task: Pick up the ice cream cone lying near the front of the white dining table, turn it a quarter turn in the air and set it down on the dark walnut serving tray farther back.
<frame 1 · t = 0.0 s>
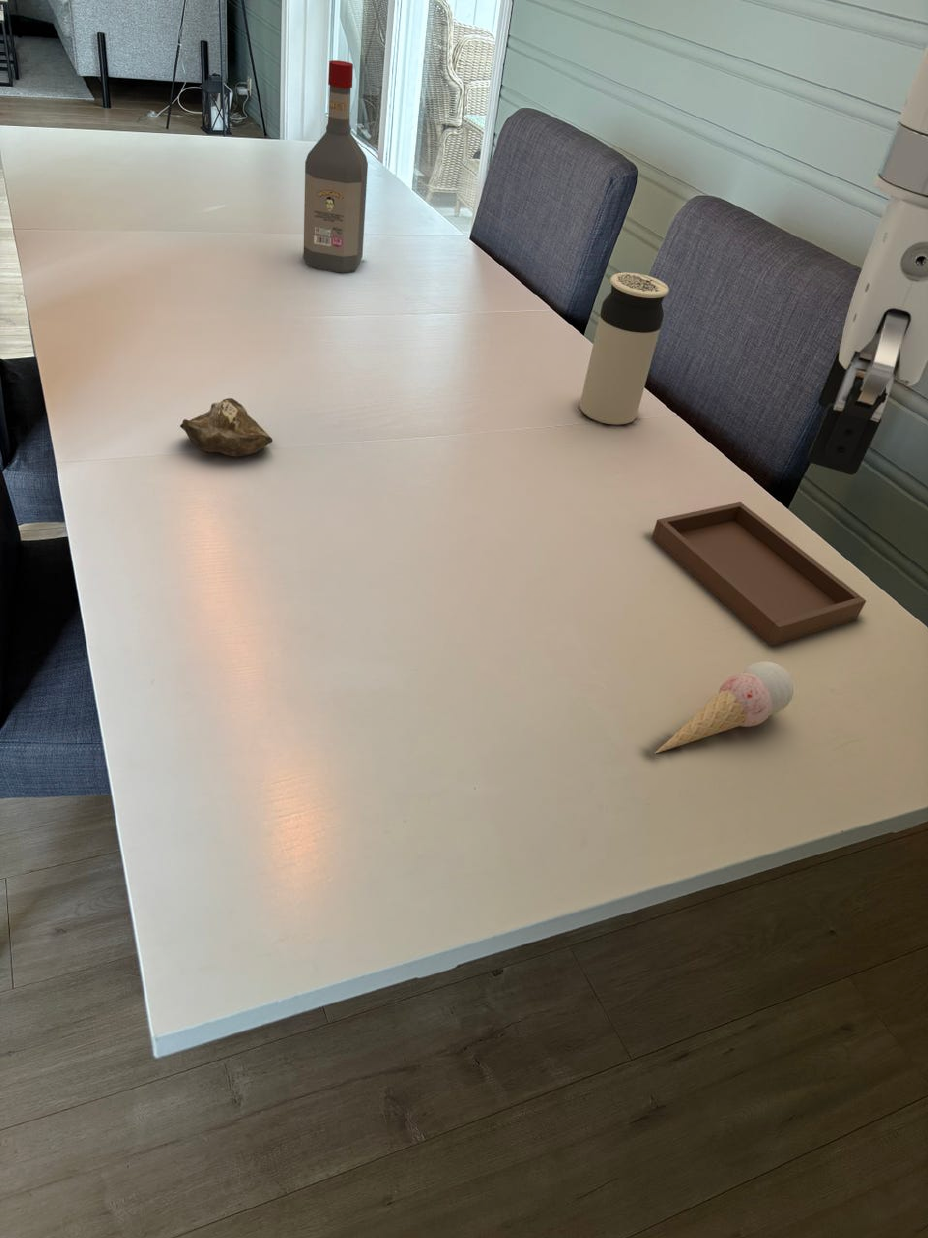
hand: (835, 436, 63), 28 cm above the table, tool pointing down, fingers open, 9 cm apart
liquor: (333, 263, 157), on the table
ice cream cone: (722, 732, 80), on the table
tray: (750, 576, 99), on the table
travel mug: (606, 413, 126), on the table
fossilized seashell: (228, 450, 106), on the table
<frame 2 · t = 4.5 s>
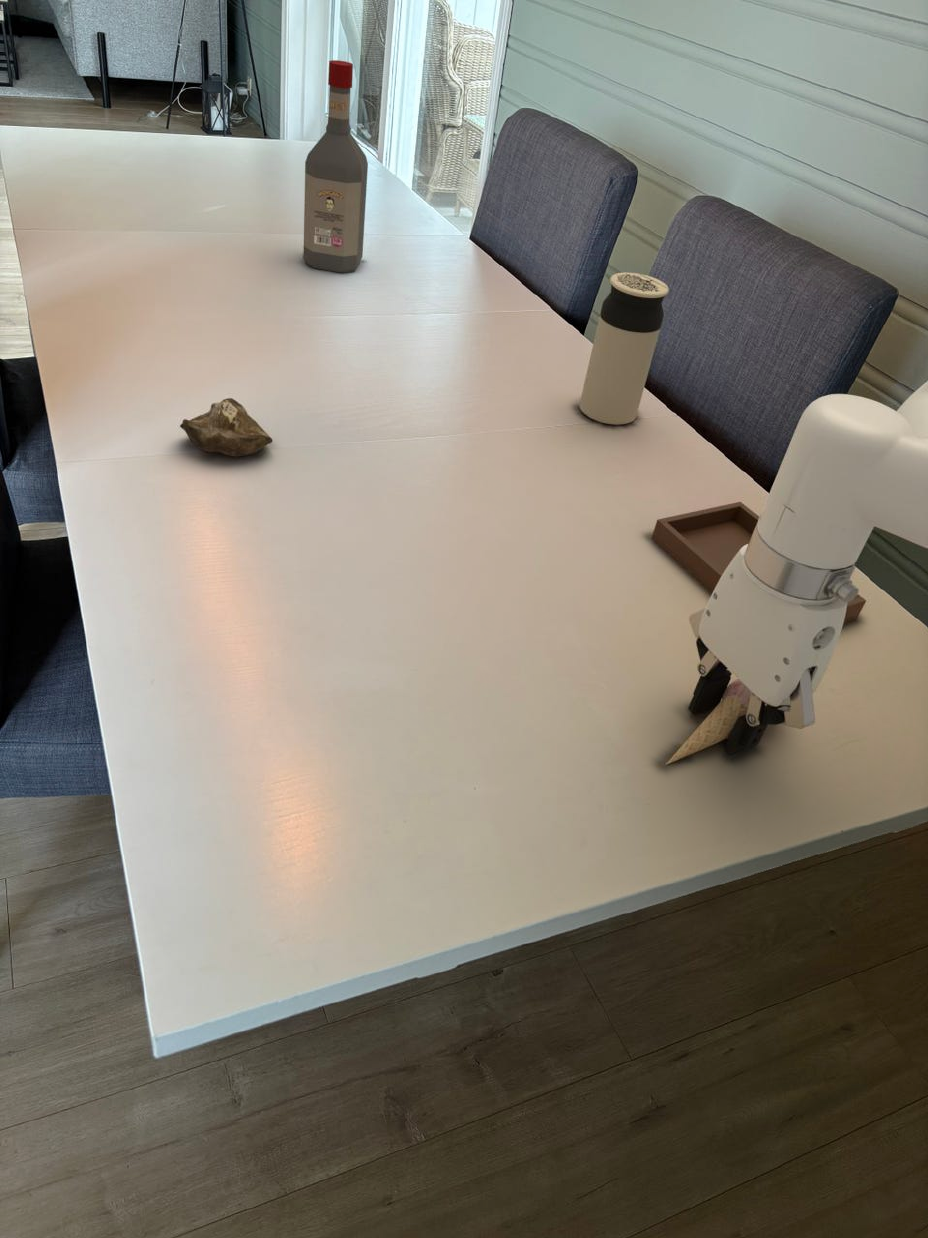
hand: (721, 725, 80), 1 cm above the table, tool pointing down, fingers closed on ice cream cone, 4 cm apart
ice cream cone: (728, 737, 80), on the table, touching gripper
everything else where it was.
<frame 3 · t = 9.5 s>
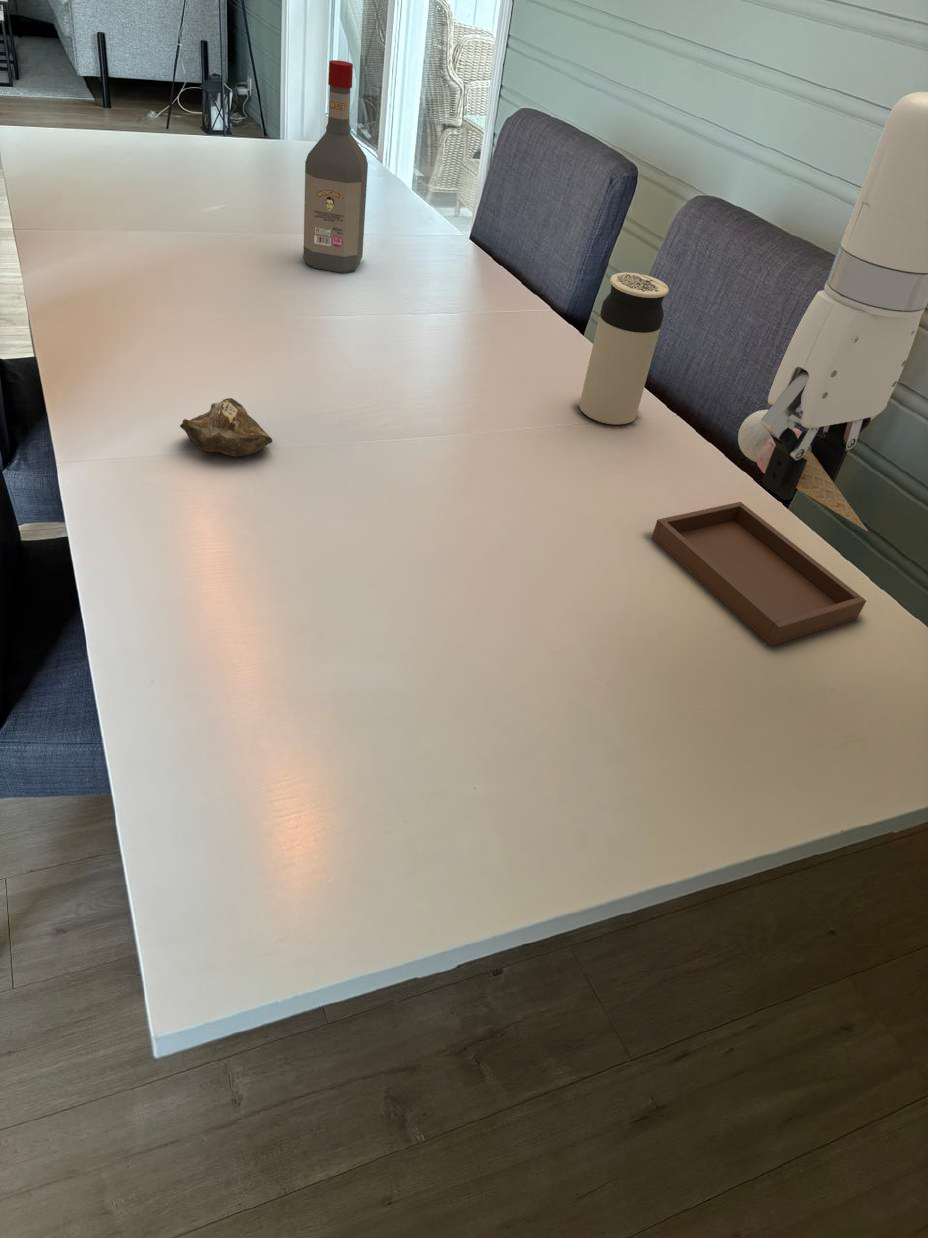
hand: (796, 485, 81), 17 cm above the table, tool pointing down, fingers closed on ice cream cone, 4 cm apart
ice cream cone: (798, 488, 82), point 16 cm above the table, touching gripper
everything else where it was.
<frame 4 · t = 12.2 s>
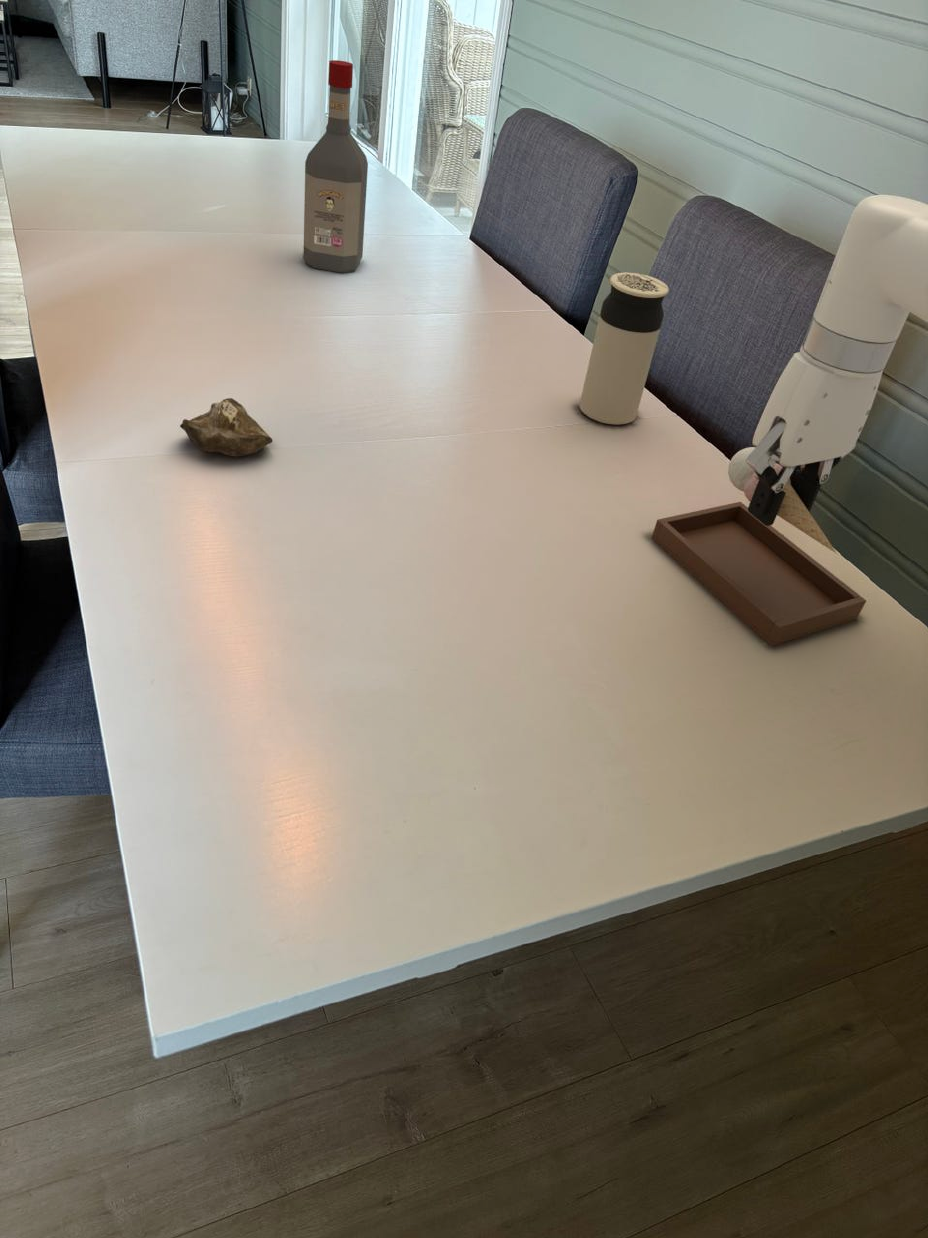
hand: (777, 512, 94), 8 cm above the table, tool pointing down, fingers closed on ice cream cone, 4 cm apart
ice cream cone: (779, 515, 95), point 8 cm above the table, touching gripper
everything else where it was.
when the fingers open (1 cm above the table, at t = 14.3 s): ice cream cone stays where it is, resting on tray.
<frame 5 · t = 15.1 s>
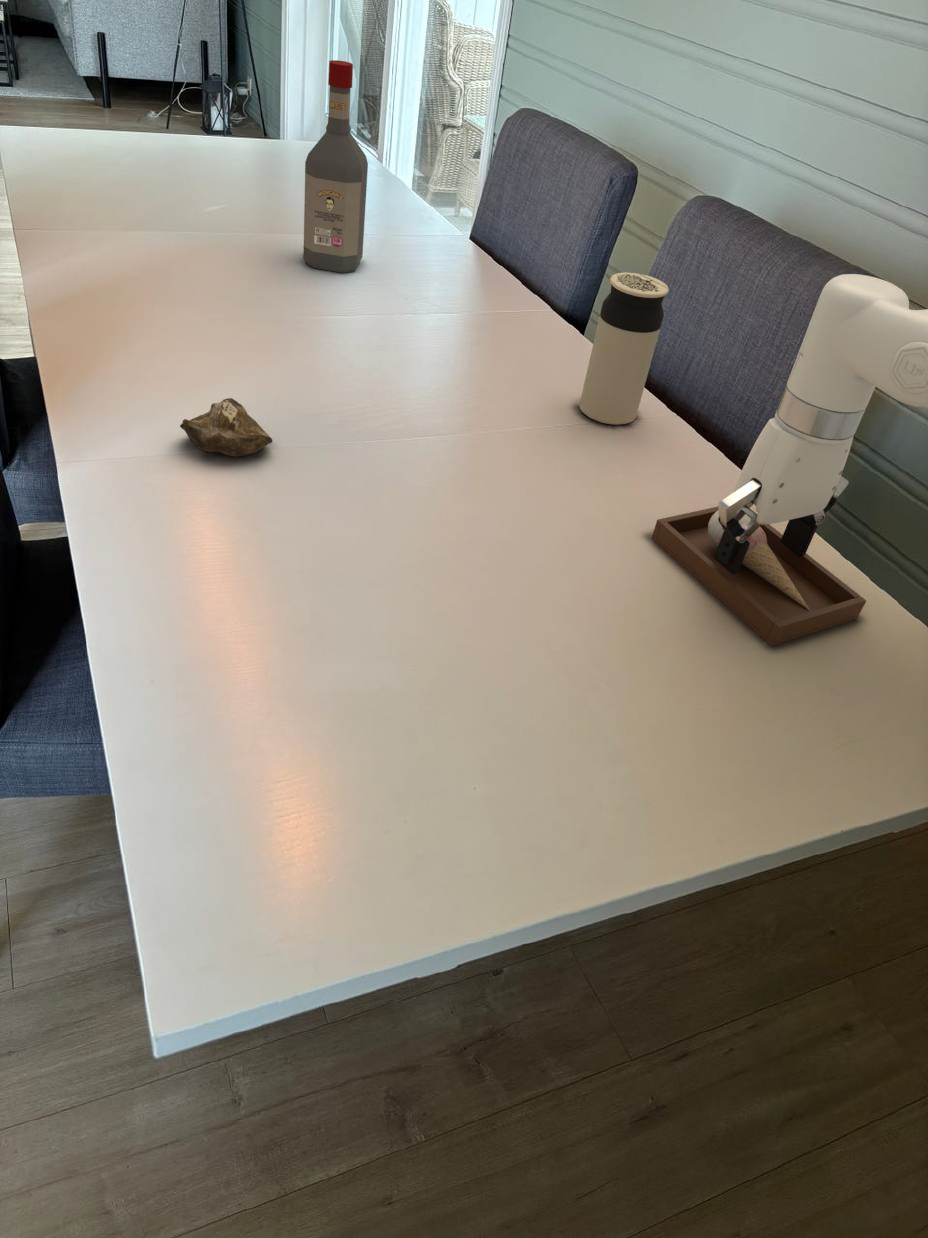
hand: (759, 557, 98), 3 cm above the table, tool pointing down, fingers open, 9 cm apart
ice cream cone: (756, 571, 100), resting on tray
everything else where it was.
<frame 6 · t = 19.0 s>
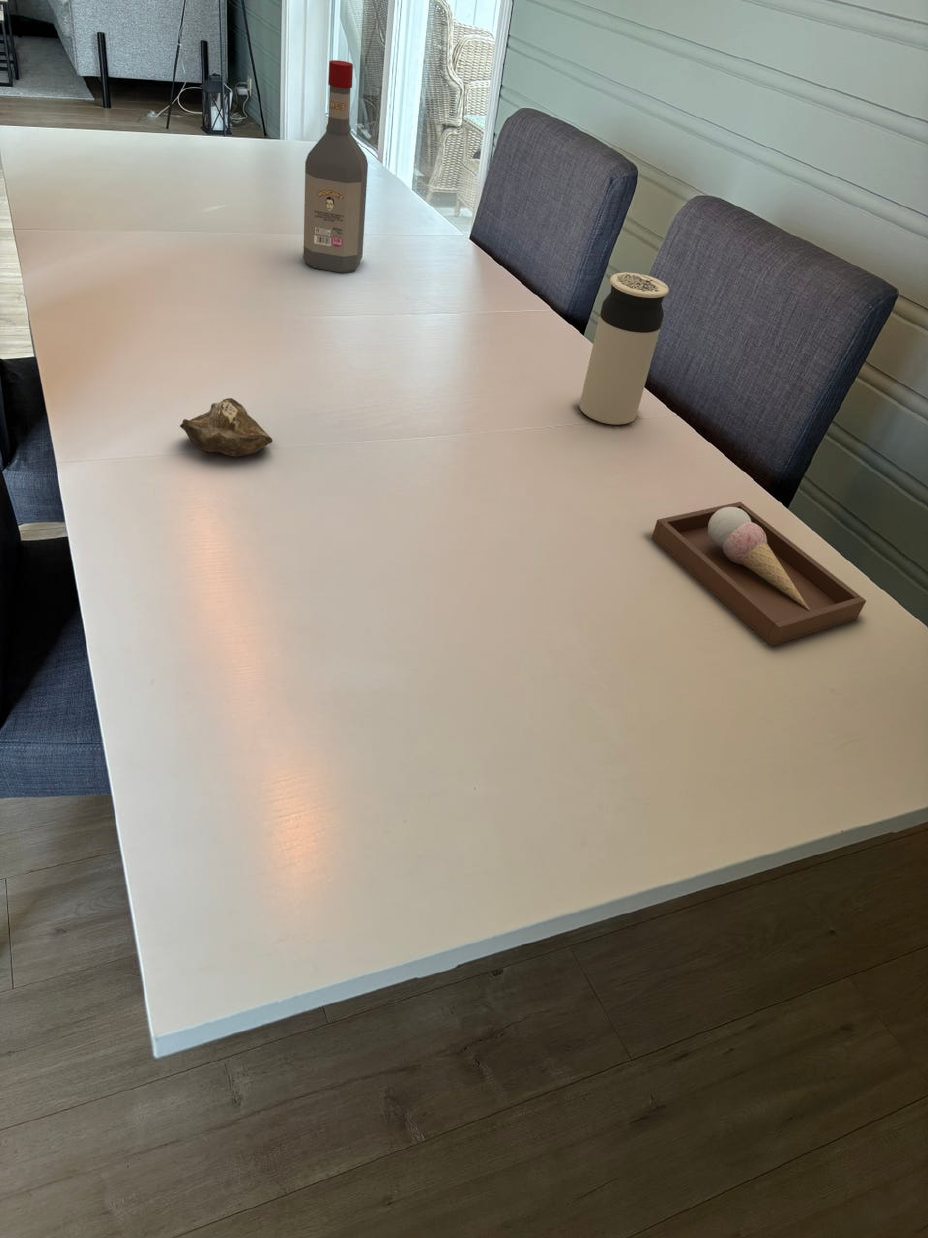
nothing on the table moved.
at the end: ice cream cone inside the target area in the tray (1.0 cm from its centre), point 0.3 cm above the tray's base; the gripper is holding nothing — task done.
